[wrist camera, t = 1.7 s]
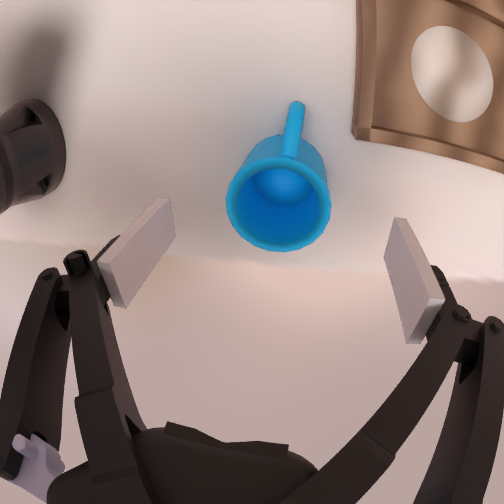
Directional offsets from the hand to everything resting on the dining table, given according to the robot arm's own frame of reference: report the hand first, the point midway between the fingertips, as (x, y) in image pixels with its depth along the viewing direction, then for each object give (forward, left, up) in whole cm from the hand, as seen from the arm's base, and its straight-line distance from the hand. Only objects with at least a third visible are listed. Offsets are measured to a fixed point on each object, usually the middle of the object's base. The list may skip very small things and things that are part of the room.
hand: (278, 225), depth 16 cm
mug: (0, 0, -14) cm, 14 cm away
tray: (+16, +17, -14) cm, 27 cm away
